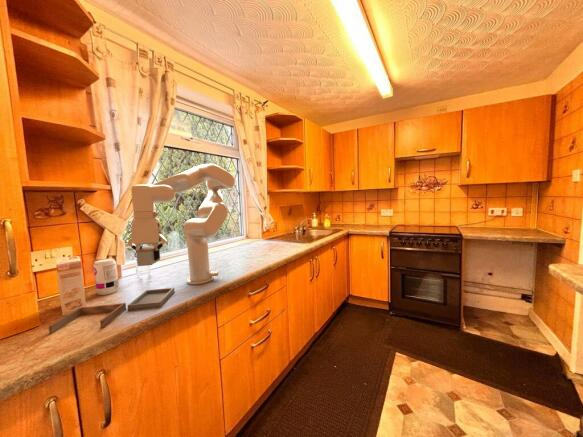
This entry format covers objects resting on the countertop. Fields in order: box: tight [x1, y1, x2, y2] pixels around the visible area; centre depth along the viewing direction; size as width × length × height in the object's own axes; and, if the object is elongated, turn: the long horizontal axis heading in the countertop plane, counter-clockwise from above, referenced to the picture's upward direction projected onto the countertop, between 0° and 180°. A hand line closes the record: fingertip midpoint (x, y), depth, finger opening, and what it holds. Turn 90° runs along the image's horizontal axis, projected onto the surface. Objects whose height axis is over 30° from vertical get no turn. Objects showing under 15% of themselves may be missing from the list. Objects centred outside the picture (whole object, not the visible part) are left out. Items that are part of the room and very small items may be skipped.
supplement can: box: [92, 258, 120, 296], centre depth 110 cm, size 8×8×15 cm
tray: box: [126, 287, 175, 312], centre depth 98 cm, size 12×16×2 cm
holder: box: [48, 302, 127, 335], centre depth 83 cm, size 16×14×2 cm
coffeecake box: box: [55, 255, 87, 317], centre depth 94 cm, size 15×7×20 cm, turn 45°
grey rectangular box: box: [135, 245, 161, 267], centre depth 97 cm, size 5×9×6 cm, turn 9°
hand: (149, 260), depth 97 cm, fingers closed on grey rectangular box, 5 cm apart
